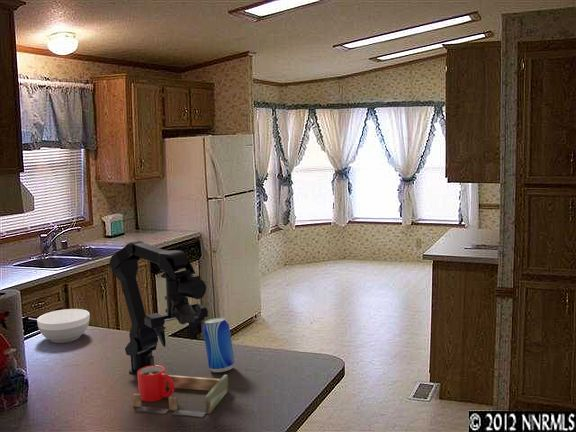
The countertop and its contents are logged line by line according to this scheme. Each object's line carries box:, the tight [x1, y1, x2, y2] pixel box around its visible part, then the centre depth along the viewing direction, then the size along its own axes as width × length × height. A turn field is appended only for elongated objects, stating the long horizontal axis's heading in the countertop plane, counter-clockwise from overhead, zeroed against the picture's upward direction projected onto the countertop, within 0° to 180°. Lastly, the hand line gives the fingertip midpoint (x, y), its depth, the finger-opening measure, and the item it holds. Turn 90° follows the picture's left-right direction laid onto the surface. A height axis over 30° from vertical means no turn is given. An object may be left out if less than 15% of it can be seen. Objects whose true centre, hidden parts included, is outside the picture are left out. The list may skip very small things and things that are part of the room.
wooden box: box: [132, 374, 229, 418], centre depth 173 cm, size 23×18×5 cm
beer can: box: [202, 317, 236, 373], centre depth 194 cm, size 8×8×16 cm
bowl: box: [36, 308, 90, 344], centre depth 229 cm, size 19×19×9 cm
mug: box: [136, 364, 175, 402], centre depth 176 cm, size 8×12×8 cm, turn 65°
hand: (178, 343), depth 183 cm, fingers open, 9 cm apart
